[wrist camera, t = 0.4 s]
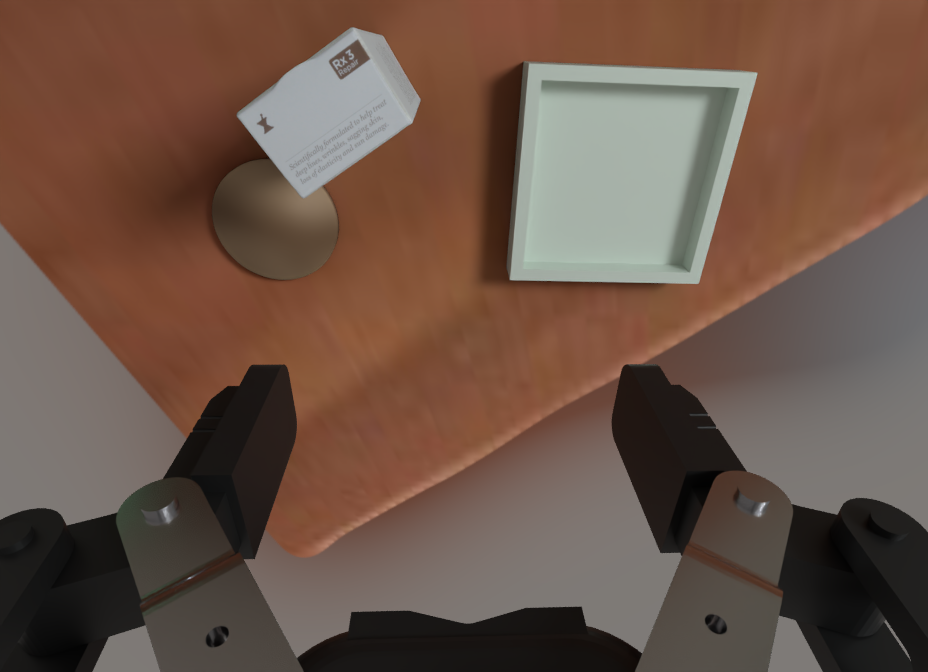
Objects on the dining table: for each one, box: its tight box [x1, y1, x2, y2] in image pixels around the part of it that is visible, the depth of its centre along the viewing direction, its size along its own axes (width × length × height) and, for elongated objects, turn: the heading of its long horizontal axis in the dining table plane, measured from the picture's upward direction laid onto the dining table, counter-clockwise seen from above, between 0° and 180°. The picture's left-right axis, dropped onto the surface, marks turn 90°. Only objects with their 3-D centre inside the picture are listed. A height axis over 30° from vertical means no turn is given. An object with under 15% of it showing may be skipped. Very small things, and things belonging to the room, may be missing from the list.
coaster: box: [212, 159, 339, 280], centre depth 35 cm, size 8×8×1 cm
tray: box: [506, 61, 757, 284], centre depth 34 cm, size 13×13×2 cm
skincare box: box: [237, 27, 421, 198], centre depth 27 cm, size 6×4×12 cm
